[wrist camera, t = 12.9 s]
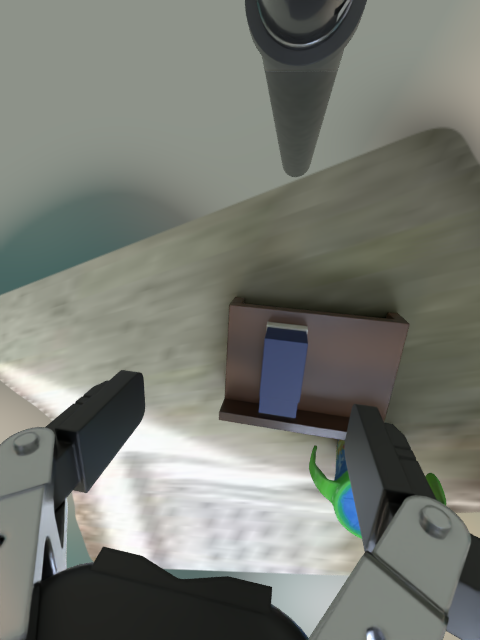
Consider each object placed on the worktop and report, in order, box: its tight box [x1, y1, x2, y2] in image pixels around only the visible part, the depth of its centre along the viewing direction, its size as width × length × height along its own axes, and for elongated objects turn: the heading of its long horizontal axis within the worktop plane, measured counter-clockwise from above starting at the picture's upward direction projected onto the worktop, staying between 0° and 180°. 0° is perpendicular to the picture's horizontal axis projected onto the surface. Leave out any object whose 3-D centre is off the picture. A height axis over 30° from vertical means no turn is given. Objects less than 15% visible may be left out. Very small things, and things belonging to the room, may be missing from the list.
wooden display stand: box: [219, 297, 409, 440], centre depth 36 cm, size 14×20×7 cm
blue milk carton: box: [259, 322, 308, 418], centre depth 34 cm, size 11×5×5 cm, turn 176°
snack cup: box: [309, 439, 446, 539], centre depth 37 cm, size 16×10×10 cm
